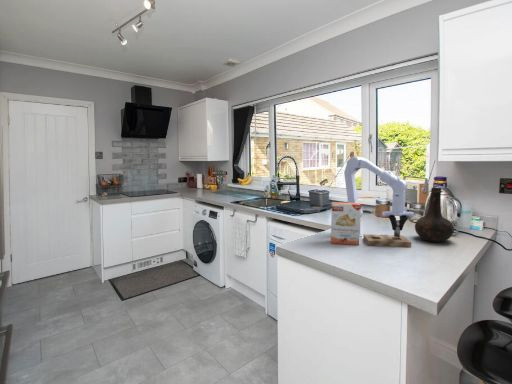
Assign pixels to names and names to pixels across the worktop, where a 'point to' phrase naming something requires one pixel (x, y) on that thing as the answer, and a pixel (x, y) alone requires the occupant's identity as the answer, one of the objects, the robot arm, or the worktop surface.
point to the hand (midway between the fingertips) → (397, 229)
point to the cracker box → (345, 223)
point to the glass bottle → (434, 221)
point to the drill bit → (397, 229)
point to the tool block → (386, 240)
